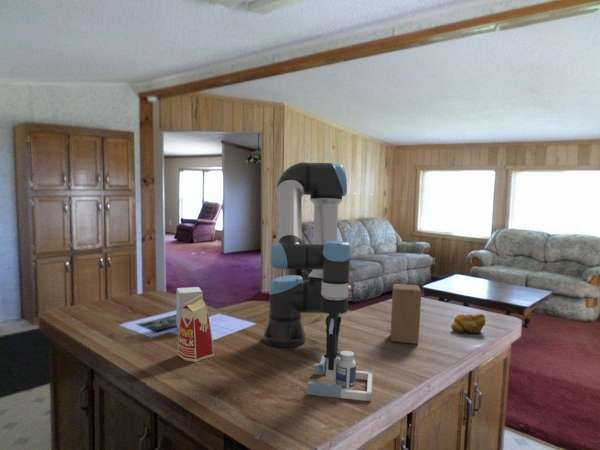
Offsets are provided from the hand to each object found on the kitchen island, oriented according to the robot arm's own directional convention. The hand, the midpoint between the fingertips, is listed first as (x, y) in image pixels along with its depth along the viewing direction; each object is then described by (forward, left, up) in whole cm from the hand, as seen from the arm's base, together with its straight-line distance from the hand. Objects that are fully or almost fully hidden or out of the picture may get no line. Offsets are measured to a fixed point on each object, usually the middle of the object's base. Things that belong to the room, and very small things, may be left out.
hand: (330, 379), depth 127 cm
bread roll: (+47, +63, -2) cm, 79 cm away
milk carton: (-46, +11, -2) cm, 47 cm away
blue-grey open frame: (-1, +4, -2) cm, 4 cm away
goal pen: (+7, +1, -2) cm, 8 cm away
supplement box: (-60, +38, -2) cm, 71 cm away
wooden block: (+22, +46, -2) cm, 52 cm away
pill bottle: (+4, 0, -2) cm, 5 cm away
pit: (0, +10, -2) cm, 10 cm away
